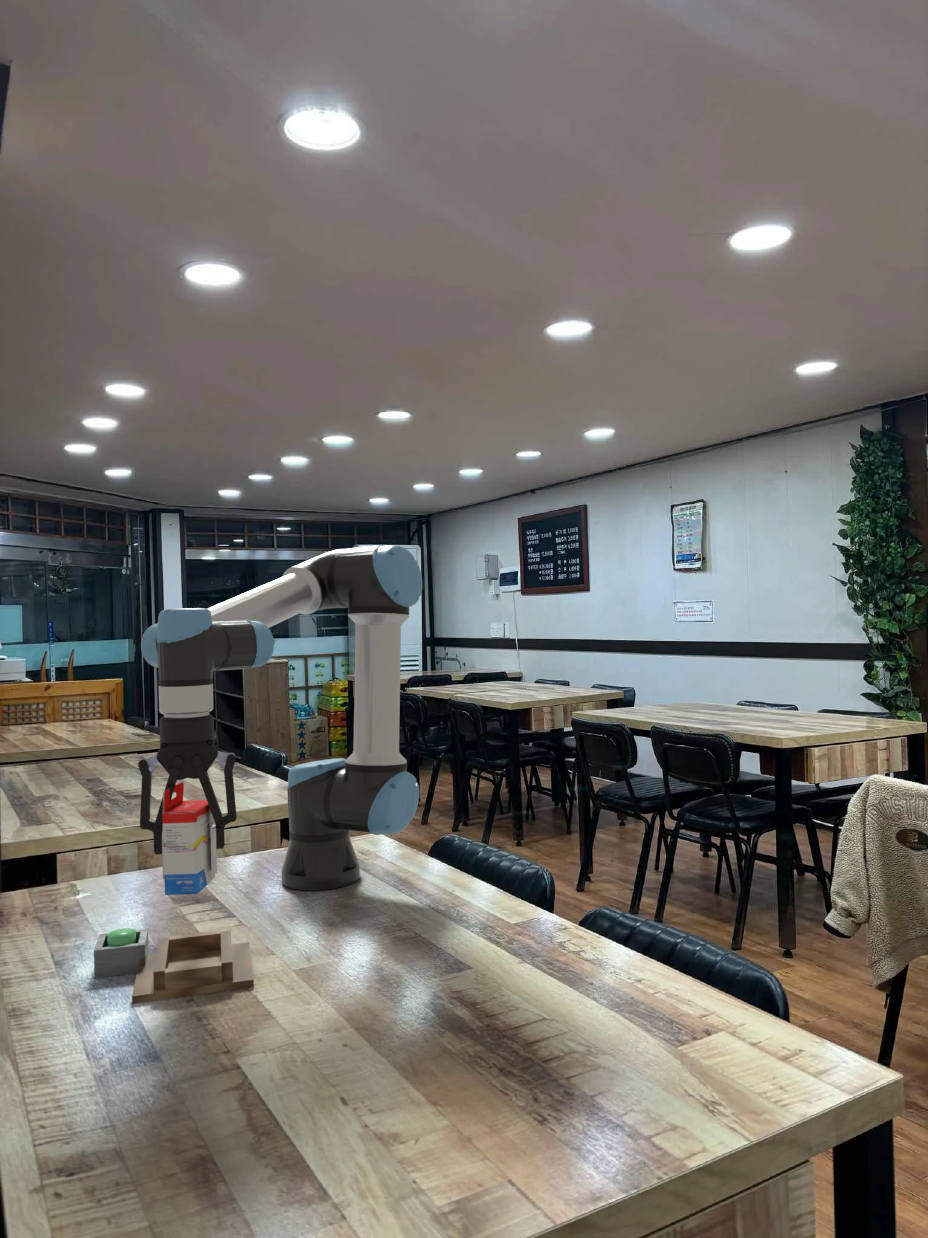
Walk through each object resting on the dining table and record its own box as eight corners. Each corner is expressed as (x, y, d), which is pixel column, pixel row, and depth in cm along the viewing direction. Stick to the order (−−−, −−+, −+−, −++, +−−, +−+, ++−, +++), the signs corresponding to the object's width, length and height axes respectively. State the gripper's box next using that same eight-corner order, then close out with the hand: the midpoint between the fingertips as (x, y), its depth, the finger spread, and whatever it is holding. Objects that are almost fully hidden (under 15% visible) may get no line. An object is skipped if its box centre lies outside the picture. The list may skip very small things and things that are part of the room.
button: (137, 945, 136) (136, 927, 136) (135, 954, 132) (134, 936, 132) (109, 948, 134) (108, 930, 134) (106, 958, 131) (105, 939, 131)
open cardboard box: (249, 948, 139) (248, 926, 139) (253, 986, 124) (253, 962, 124) (140, 962, 134) (139, 939, 134) (132, 1003, 120) (131, 978, 120)
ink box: (198, 895, 125) (195, 790, 125) (163, 896, 125) (160, 791, 125) (216, 877, 133) (213, 779, 133) (183, 878, 133) (180, 780, 133)
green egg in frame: (148, 954, 137) (148, 928, 137) (145, 971, 131) (144, 944, 131) (100, 960, 136) (99, 934, 135) (94, 978, 129) (93, 951, 129)
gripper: (252, 708, 135) (256, 860, 135) (119, 715, 130) (123, 873, 130) (254, 713, 128) (258, 874, 128) (114, 720, 123) (118, 888, 123)
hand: (190, 873), depth 129 cm, fingers closed on ink box, 6 cm apart
